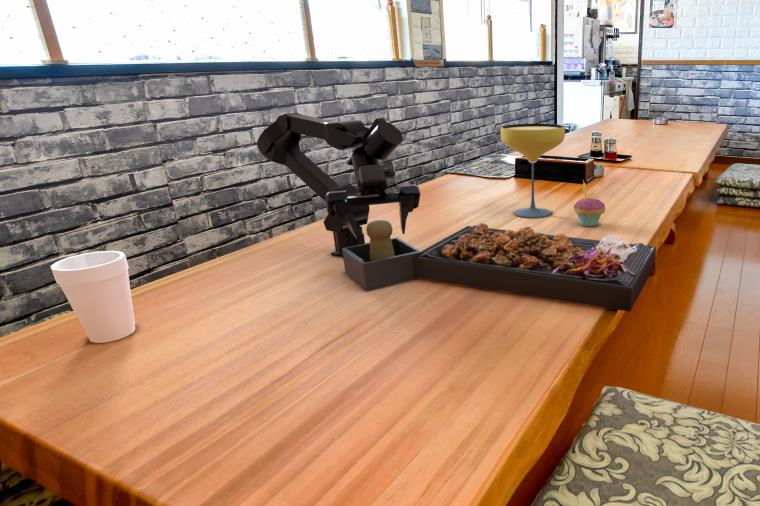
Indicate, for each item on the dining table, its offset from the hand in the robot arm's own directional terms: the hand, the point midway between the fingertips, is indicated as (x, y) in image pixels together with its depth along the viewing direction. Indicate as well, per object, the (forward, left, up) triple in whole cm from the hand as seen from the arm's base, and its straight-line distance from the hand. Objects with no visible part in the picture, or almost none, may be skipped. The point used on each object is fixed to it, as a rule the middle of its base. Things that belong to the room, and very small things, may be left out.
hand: (381, 235), depth 107 cm
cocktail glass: (+8, +60, -9) cm, 61 cm away
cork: (-1, +1, -9) cm, 9 cm away
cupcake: (+27, +55, -9) cm, 62 cm away
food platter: (+28, +14, -9) cm, 33 cm away
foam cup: (-26, -39, -9) cm, 48 cm away
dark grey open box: (-1, +1, -9) cm, 9 cm away
